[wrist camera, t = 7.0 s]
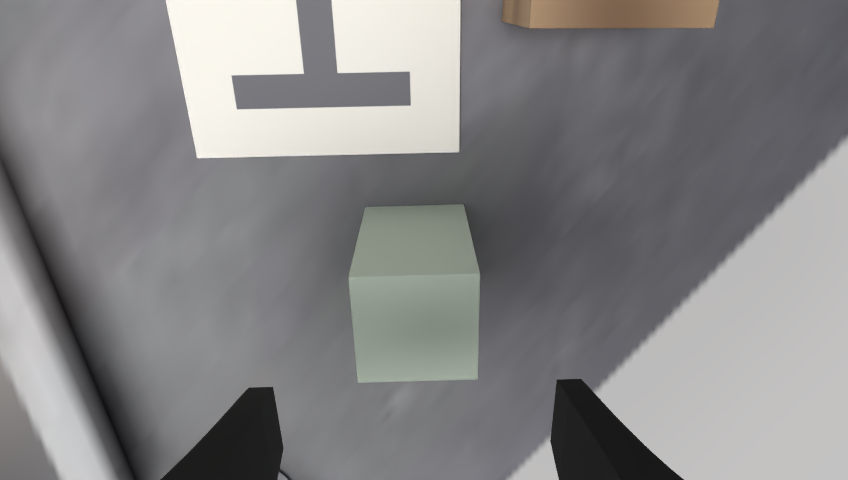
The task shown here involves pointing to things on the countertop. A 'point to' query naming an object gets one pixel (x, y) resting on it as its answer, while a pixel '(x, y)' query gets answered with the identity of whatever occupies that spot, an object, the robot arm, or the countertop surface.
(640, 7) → the walnut block
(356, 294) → the sage pillar
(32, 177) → the countertop surface
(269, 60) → the letter card
